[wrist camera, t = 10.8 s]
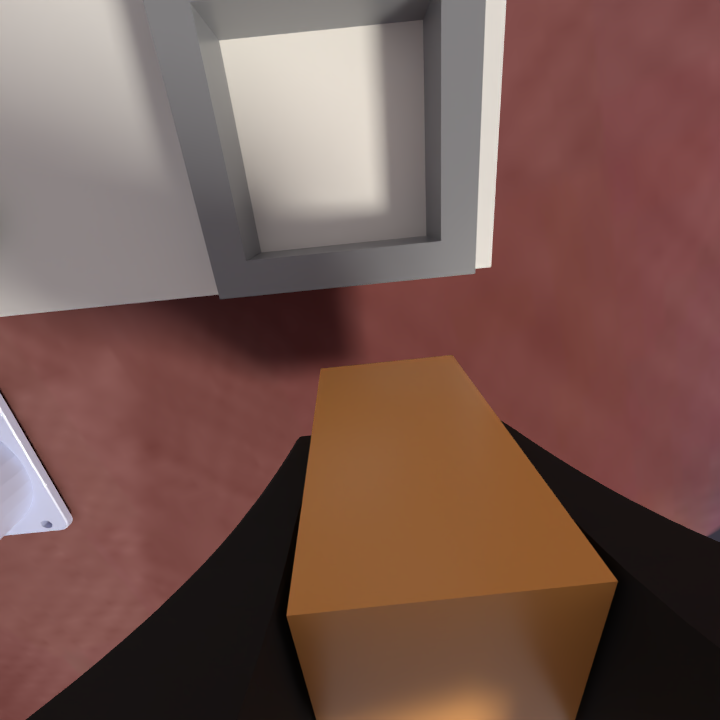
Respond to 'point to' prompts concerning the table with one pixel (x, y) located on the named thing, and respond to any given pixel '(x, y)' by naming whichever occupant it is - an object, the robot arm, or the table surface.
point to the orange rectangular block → (436, 558)
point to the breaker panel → (243, 146)
